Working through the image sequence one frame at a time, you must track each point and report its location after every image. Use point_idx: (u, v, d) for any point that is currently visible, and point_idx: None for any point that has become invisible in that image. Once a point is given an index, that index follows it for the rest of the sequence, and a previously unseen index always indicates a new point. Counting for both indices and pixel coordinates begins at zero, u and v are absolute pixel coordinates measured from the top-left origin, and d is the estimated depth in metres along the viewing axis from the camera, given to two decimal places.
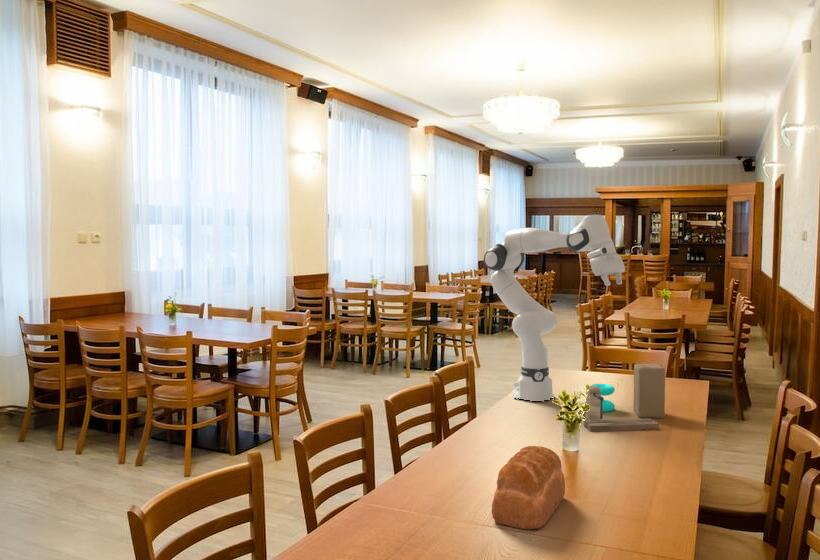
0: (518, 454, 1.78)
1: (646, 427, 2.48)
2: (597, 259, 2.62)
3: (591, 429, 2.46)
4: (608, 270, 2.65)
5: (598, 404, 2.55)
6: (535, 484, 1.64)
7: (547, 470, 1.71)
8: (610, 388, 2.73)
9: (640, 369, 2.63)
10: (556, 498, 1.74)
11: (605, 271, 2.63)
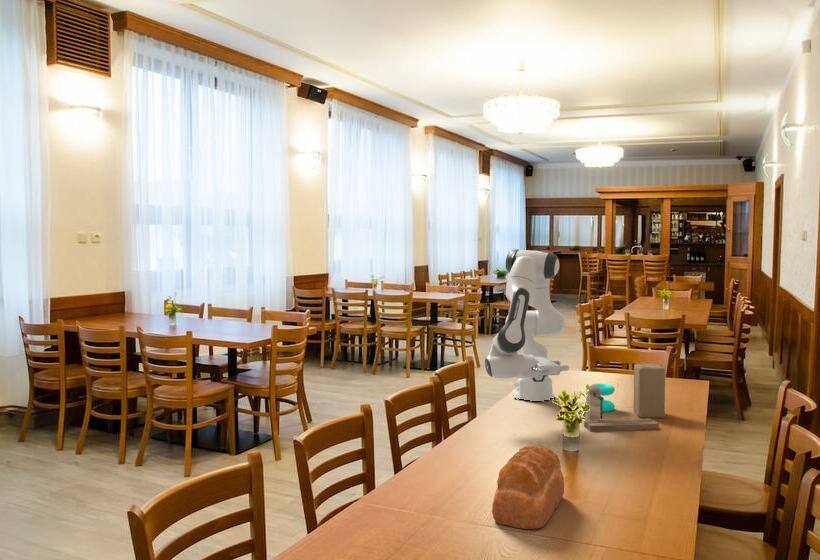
0: (518, 454, 1.78)
1: (646, 427, 2.48)
2: None
3: (591, 429, 2.46)
4: None
5: (598, 404, 2.55)
6: (536, 484, 1.64)
7: (547, 470, 1.71)
8: (610, 388, 2.73)
9: (640, 369, 2.63)
10: (556, 498, 1.74)
11: None
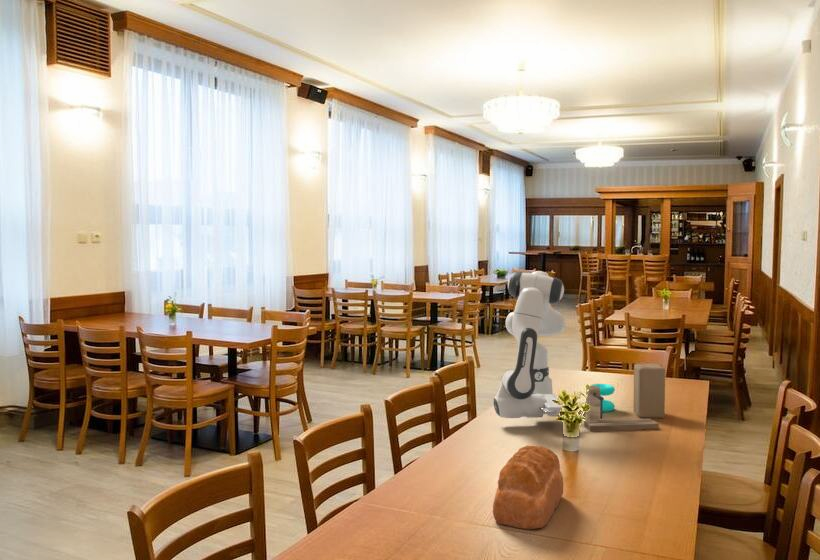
0: (517, 454, 1.78)
1: (646, 427, 2.48)
2: None
3: (591, 429, 2.46)
4: None
5: (598, 404, 2.55)
6: (537, 484, 1.64)
7: (547, 470, 1.71)
8: (610, 388, 2.73)
9: (640, 369, 2.63)
10: (556, 497, 1.75)
11: None
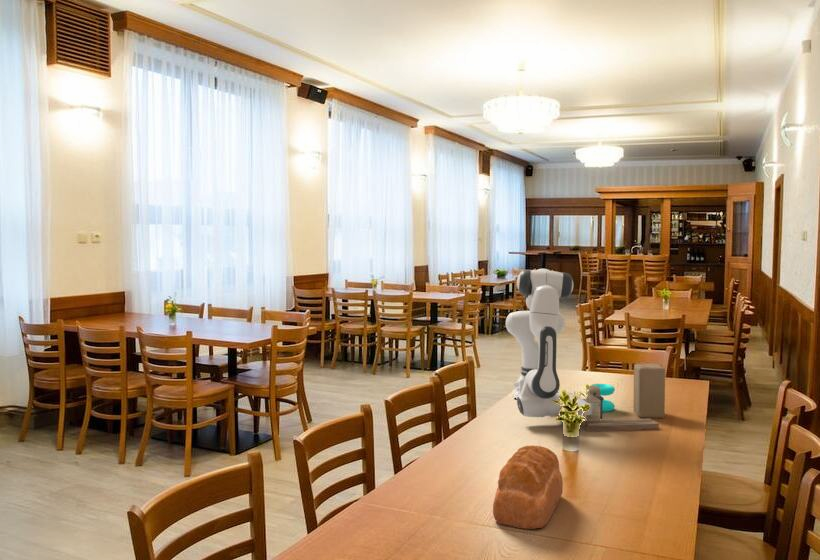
0: (517, 454, 1.78)
1: (646, 427, 2.48)
2: None
3: (591, 429, 2.46)
4: None
5: None
6: (537, 484, 1.64)
7: (547, 469, 1.71)
8: (610, 388, 2.73)
9: (640, 369, 2.63)
10: (556, 497, 1.75)
11: None
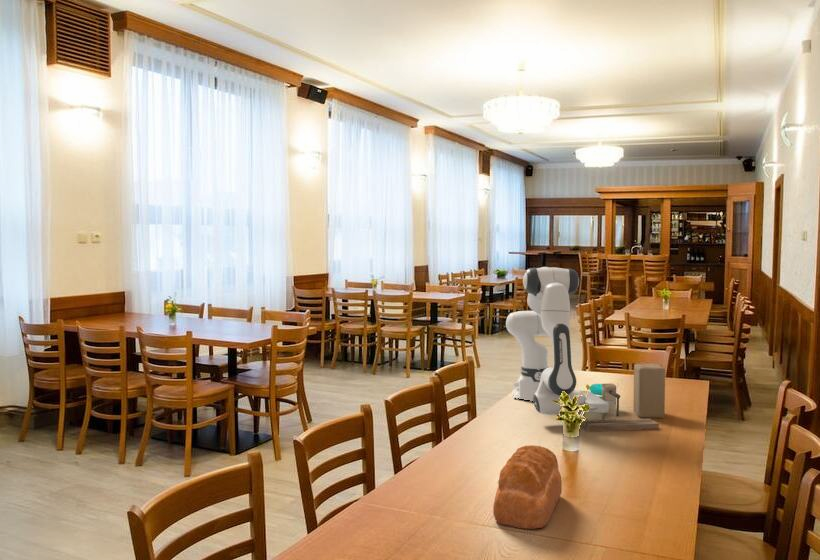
0: (517, 454, 1.78)
1: (646, 427, 2.48)
2: None
3: (591, 429, 2.46)
4: None
5: None
6: (538, 484, 1.64)
7: (547, 469, 1.72)
8: None
9: (640, 369, 2.63)
10: (555, 497, 1.75)
11: None
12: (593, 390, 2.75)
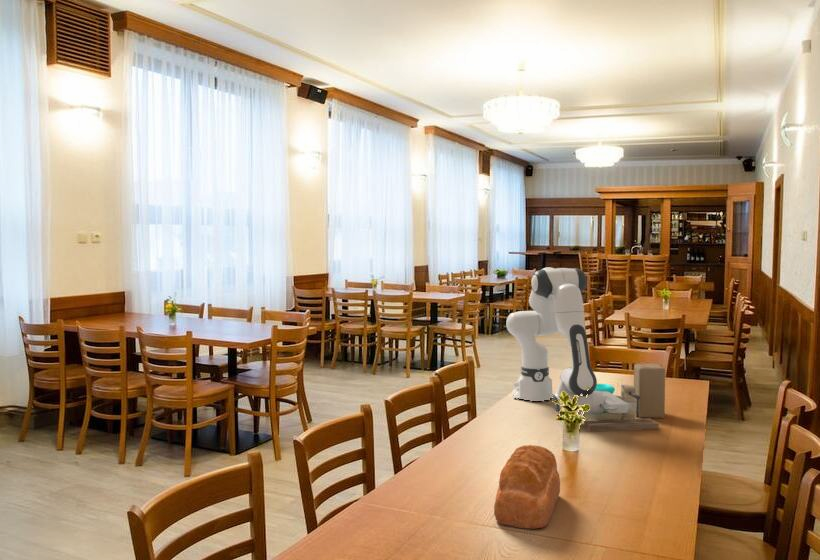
0: (516, 454, 1.78)
1: (646, 427, 2.48)
2: None
3: (591, 429, 2.46)
4: None
5: None
6: (539, 483, 1.64)
7: (547, 469, 1.72)
8: (610, 388, 2.73)
9: (640, 369, 2.63)
10: (555, 496, 1.75)
11: None
12: None
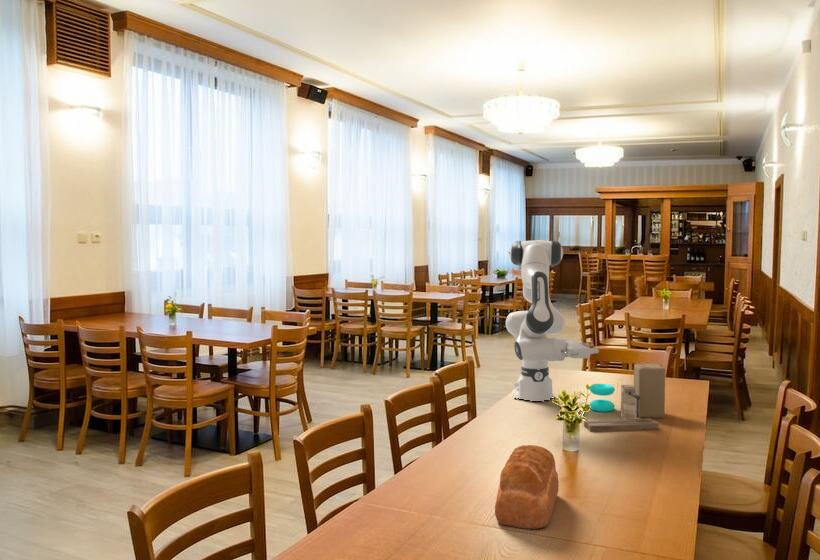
0: (516, 454, 1.78)
1: (646, 427, 2.48)
2: None
3: (591, 429, 2.46)
4: None
5: (633, 403, 2.57)
6: (540, 483, 1.65)
7: (547, 469, 1.72)
8: (610, 388, 2.73)
9: (640, 369, 2.63)
10: (554, 496, 1.76)
11: None
12: (593, 390, 2.75)
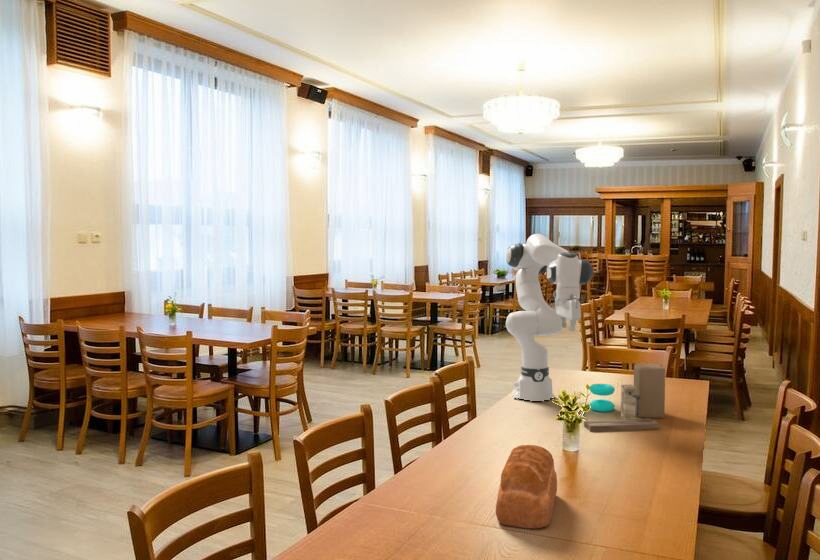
0: (515, 454, 1.78)
1: (646, 427, 2.48)
2: None
3: (591, 429, 2.46)
4: (559, 313, 2.68)
5: (633, 403, 2.57)
6: (541, 483, 1.65)
7: (548, 468, 1.72)
8: (610, 388, 2.73)
9: (640, 369, 2.63)
10: (554, 495, 1.76)
11: (557, 313, 2.70)
12: (593, 390, 2.75)
